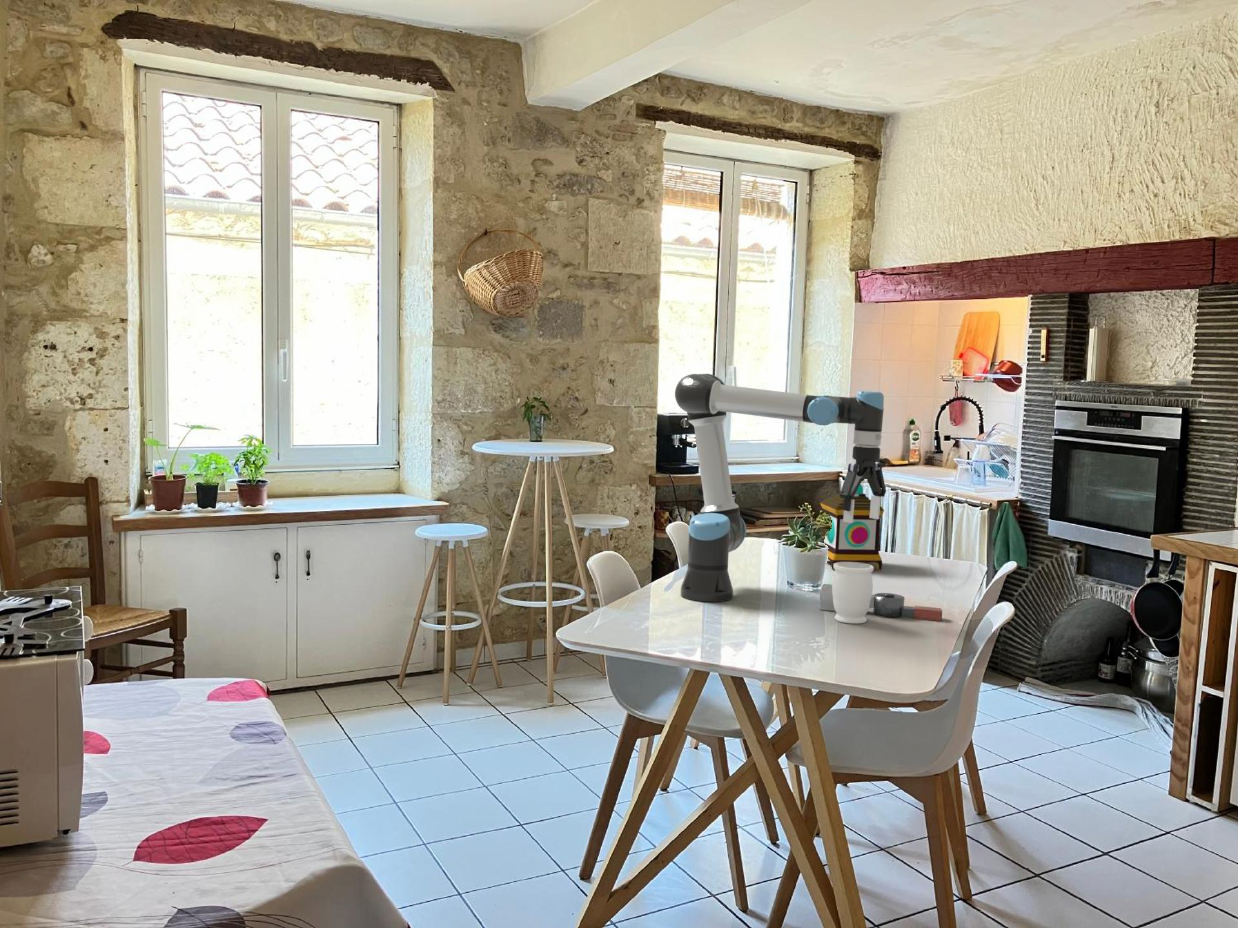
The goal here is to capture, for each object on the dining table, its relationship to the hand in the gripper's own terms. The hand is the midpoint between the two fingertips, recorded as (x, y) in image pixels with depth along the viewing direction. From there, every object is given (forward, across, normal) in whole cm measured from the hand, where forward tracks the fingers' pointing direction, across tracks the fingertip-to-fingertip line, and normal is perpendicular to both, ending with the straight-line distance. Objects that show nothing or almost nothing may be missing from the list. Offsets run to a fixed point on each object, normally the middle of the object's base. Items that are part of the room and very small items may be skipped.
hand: (861, 520), depth 280 cm
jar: (+24, -18, -10) cm, 32 cm away
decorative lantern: (+24, +47, +32) cm, 62 cm away
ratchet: (+24, -2, -16) cm, 29 cm away
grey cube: (+24, -11, 0) cm, 27 cm away
